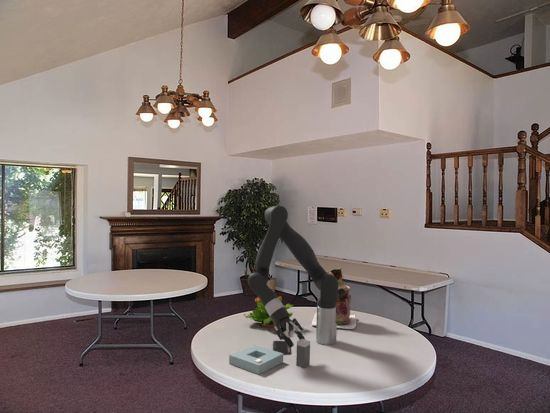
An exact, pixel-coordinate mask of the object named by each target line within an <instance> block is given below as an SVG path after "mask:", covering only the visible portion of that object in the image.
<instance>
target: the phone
mask: <svg viewBox="0 0 550 413" xmlns="http://www.w3.org/2000/svg"><path fill="white" fill-rule="evenodd" d="M272 350H273V351H277V352H280V353H283V355H290V354H291V348H290V347H289V346H288V344H287V343H286V341H285V340H273V341H272Z"/></svg>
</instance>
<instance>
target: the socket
mask: <svg viewBox="0 0 550 413" xmlns="http://www.w3.org/2000/svg"><path fill="white" fill-rule="evenodd" d="M283 362H284V354H283V353H280V352H277V351H273V349H270V348H266V347H263V346H260V345H258V344H257V345H256V344H253V345H250V346H248V347H245V348H243V349H241V350H238V351H236V352H233V353H231V354H229V356H228V364H229V365H233V366H235V367H238V368H240V369H243V370H246V371H249V372H251V373H254V374H257V375H261V374H263V373H264V372H267V371H268V370H270V369H272V368H274V367H277V366H278V365H280V364H282V363H283Z"/></svg>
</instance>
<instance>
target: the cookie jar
mask: <svg viewBox="0 0 550 413" xmlns="http://www.w3.org/2000/svg"><path fill="white" fill-rule="evenodd" d="M342 268H343V267H342V266H340V268H332V269H330V270H328V272H327V271H326V272H327V273H328V274H331V275H333V276H335V277H336V278H337V280H338V300H337V303H336V324H337V329H341V330H342V329H344V330H349V329H352V330H354V329H355V328H356V326H357V320H356V315H355V314H351V302H352V295H351V294H350V291H351V287H350V286H348V285H346V284H345V283H344V282H343V280H342V279H343V276H344V275H343V271H342ZM320 291H321V290H319V292H320ZM316 324H317V312H315V313H314V316H313V318H312V322H311V327H313V326H314V327H316Z"/></svg>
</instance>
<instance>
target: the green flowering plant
mask: <svg viewBox="0 0 550 413" xmlns="http://www.w3.org/2000/svg"><path fill="white" fill-rule="evenodd" d="M277 297H278V299H279V300H280V301H283V299H282V296H277ZM254 302H255V303H256V305H257V306H255V307H256V308H255V309H253V310H252V312H249V314H248V315H246V314H245V313H243V316H244V317H245V318H246V319H250V320H253V321H254V322H257V323H260V324H261V326H262V327H266V328H267V327H268V328H274V327H275V326H276V325H275V324H274V322H273V320H272V319H271V317H270V316H269V314H268V312H267V310H266V308H265V307H264V305H263V303H262V302H261V300H260V298H259V297H258V296H257V297H256V298H255V300H254ZM293 306H294V304H290V303H286V304H285V305H284V307H285V308H286V310H287V311H288V310H289V309H291V308H293ZM288 313H289V314H290V316H289V318H291V317H292V316H293V314H294V312H288Z"/></svg>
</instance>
